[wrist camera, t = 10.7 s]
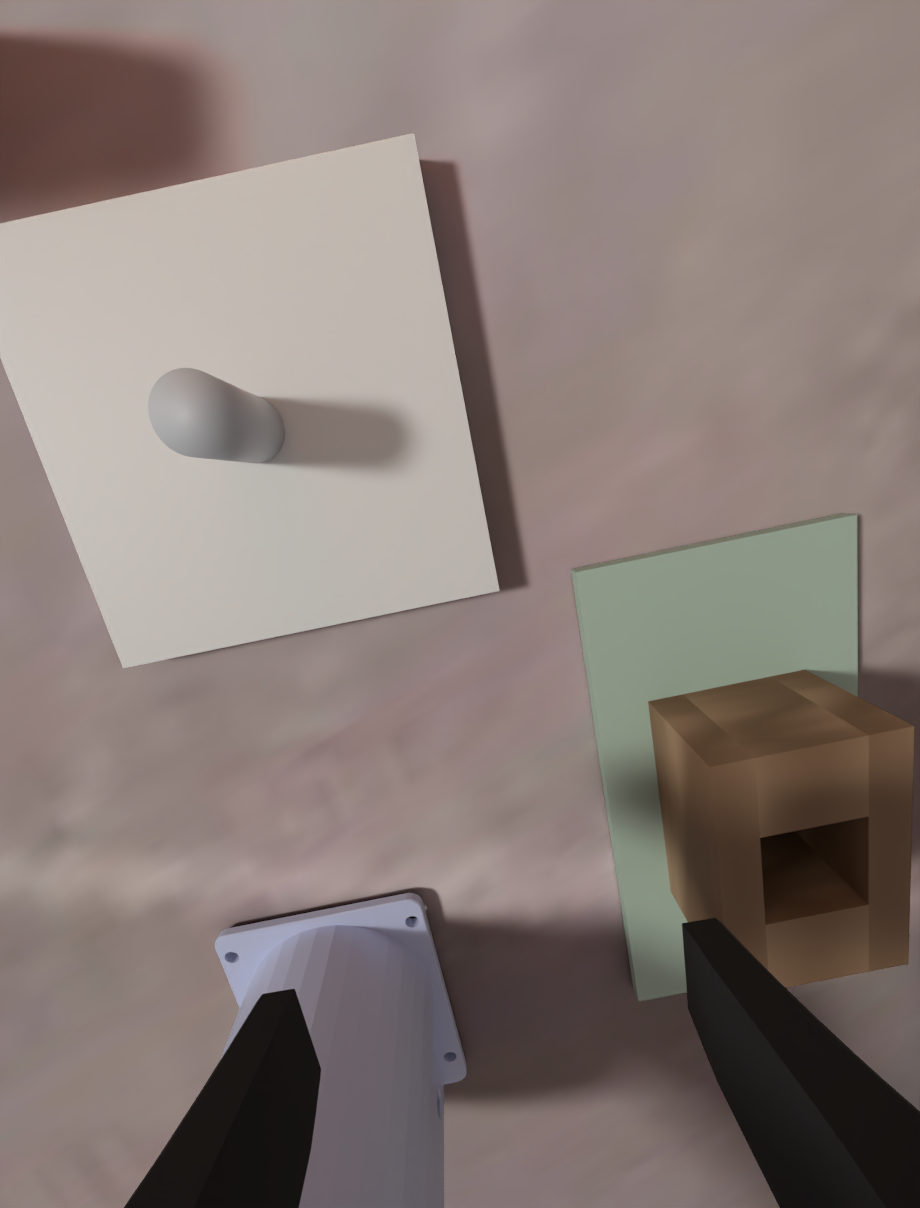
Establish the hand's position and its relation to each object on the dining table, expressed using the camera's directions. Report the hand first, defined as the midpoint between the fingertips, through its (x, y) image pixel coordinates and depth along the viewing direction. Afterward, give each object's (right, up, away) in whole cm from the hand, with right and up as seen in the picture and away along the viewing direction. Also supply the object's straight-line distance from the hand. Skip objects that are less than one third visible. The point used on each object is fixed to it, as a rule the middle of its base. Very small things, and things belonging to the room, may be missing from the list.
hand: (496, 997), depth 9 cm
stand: (-7, +12, +6) cm, 15 cm away
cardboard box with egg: (+9, +1, +9) cm, 13 cm away
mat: (+9, +1, +9) cm, 13 cm away
